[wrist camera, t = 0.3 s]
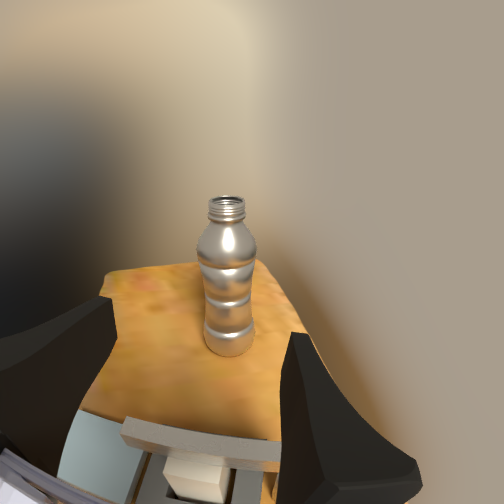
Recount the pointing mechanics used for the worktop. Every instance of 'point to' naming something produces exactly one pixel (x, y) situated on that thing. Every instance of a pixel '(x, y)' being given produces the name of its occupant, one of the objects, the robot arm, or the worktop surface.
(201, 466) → the plug
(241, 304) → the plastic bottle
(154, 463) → the socket block
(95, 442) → the tile
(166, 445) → the grey piece
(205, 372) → the worktop surface
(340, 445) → the robot arm
